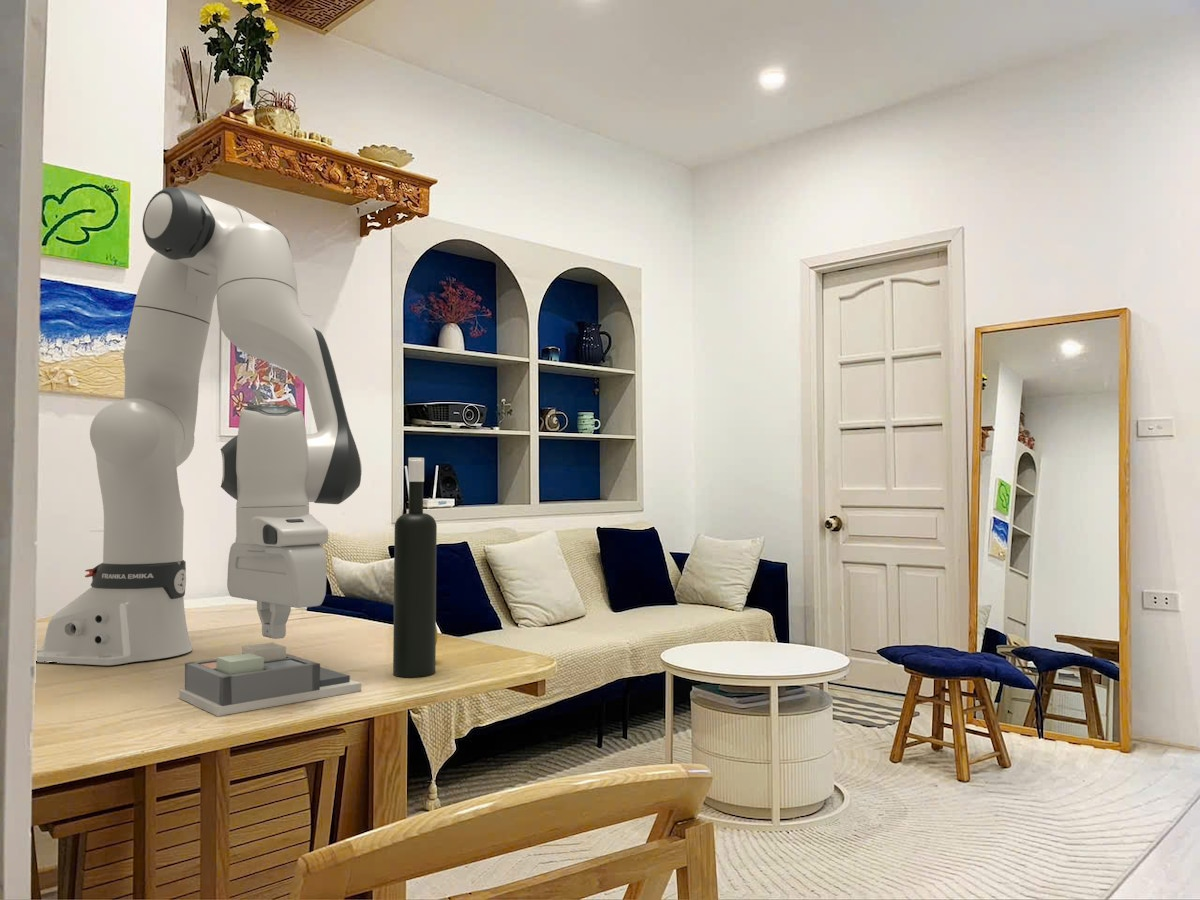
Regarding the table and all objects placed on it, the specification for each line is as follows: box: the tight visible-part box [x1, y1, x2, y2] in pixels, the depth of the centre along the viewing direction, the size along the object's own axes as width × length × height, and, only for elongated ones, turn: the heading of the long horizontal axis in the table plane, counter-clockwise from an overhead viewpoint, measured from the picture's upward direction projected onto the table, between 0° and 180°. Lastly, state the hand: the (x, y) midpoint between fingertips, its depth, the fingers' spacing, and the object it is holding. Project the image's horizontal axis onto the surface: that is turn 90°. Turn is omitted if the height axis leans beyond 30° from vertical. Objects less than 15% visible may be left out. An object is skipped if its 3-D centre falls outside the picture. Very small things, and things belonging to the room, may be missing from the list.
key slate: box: [264, 660, 302, 669], centre depth 110 cm, size 4×4×2 cm
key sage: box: [216, 653, 264, 675], centre depth 107 cm, size 4×4×2 cm
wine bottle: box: [392, 457, 438, 678], centre depth 126 cm, size 6×6×30 cm
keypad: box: [178, 652, 362, 717], centre depth 112 cm, size 18×12×4 cm, turn 134°
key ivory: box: [241, 642, 287, 661], centre depth 114 cm, size 4×4×2 cm
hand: (273, 637), depth 115 cm, fingers closed
